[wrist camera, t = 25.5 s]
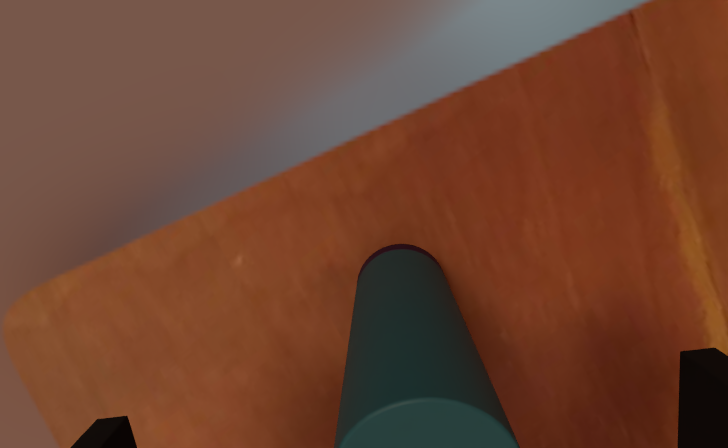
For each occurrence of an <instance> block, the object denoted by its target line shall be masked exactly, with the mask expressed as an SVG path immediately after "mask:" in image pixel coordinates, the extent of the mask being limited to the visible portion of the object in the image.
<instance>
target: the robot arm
mask: <svg viewBox="0 0 728 448" xmlns="http://www.w3.org/2000/svg"><path fill="white" fill-rule="evenodd" d="M71 448H137V446H136V443H135V439H134V436H133V433H132V430H131V426H130V423H129V420H128V417H127V416H122V417H113V418H105V419H97V420H96V421H95V422H94V423H93V424H92V425H91V426H90V427H89V429H88V430H87V431H86V432H85V433H84V434H83V435H82V436H81V437H80V438H79V439H78V440H77V441H76V442H75V443H74V445H73V446H72V447H71ZM678 448H728V356H727V355H725V354H724V353H722V352H721V351H719V350H718V349H716V348H708V349H699V350H690V351H682V352H680V380H679V417H678Z"/></svg>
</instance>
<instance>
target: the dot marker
mask: <svg viewBox="0 0 728 448" xmlns="http://www.w3.org/2000/svg"><path fill="white" fill-rule="evenodd" d="M334 448H520V447H519V444H518V442H517V440H516V437H515V435H514V433H513V431H512V428H511V426H510V424H509V421H508V419H507V417H506V415H505V412H504V410H503V408H502V406H501V403H500V401H499V399H498V396H497V394H496V392H495V390H494V387H493V385H492V383H491V380H490V378H489V376H488V374H487V371H486V369H485V367H484V364H483V362H482V360H481V358H480V355H479V353H478V351H477V349H476V346H475V344H474V342H473V339H472V337H471V335H470V333H469V330H468V328H467V326H466V323H465V321H464V319H463V317H462V314H461V312H460V310H459V307H458V305H457V303H456V301H455V298H454V296H453V294H452V292H451V289H450V287H449V285H448V282H447V280H446V278H445V276H444V273H443V271H442V269H441V267H440V265H439V264H438V262H437V261H436V260H435V258H434V257H433V256H432V255H430V254H429V253H428V252H426V251H425V250H423V249H421V248H419V247H416V246H413V245H407V244H395V245H390V246H387V247H384V248H382V249H380V250H378V251H376V252H375V253H374V254H372V255H371V256H370V257H369V258H368V259H367V260H366V262H365V263H364V264H363V266H362V268H361V270H360V273H359V276H358V281H357V288H356V295H355V302H354V309H353V316H352V323H351V331H350V338H349V345H348V352H347V359H346V366H345V373H344V380H343V387H342V394H341V401H340V408H339V415H338V422H337V429H336V436H335V443H334Z"/></svg>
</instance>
